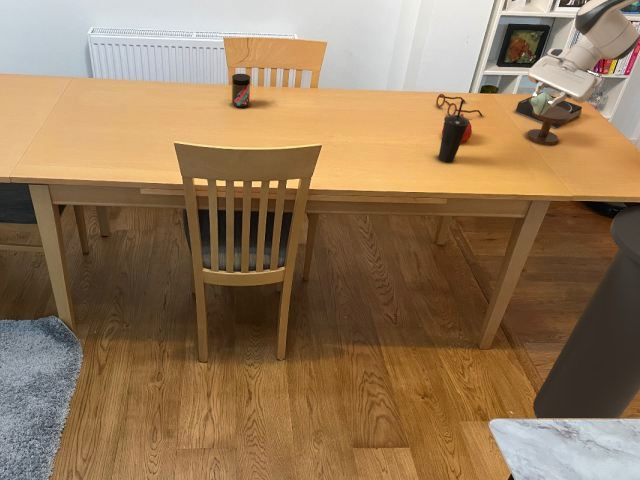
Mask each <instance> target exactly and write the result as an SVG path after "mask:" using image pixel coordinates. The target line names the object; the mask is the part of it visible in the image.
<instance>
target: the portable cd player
mask: <svg viewBox="0 0 640 480" xmlns="http://www.w3.org/2000/svg"><path fill="white" fill-rule="evenodd" d="M541 93H544V92H543V91H542V92H541V91H540V94H541ZM549 96H551V97H552V98H554V99H555V98H557V96H554V95H551V94H549ZM531 98H532V96H530V97H526V98H525V99H523V100H520V101H518V103H517V105H516V108H515V111H514V113H515V114H519V115H521V116H523V117H526V118H528V119H530V120H533V121H536V122H538V123H541V124H543V122H544V121H543V120H541V119H539V118H537V117H535V116H534V115H533V113H532V111H533V106H532V104H531ZM555 106H558V107H561V108H564V109H566V110H567V111H569V112H570V114H571V117H570V119H569V121H568V122H565V123H552V125H551V128H554V129H557V128H559V127H561V126H563V125H565V124H566V123H569V122H570V121H571V122H572V121H573V120H575V119H577V118H579V117H580V116H581V114H582V109H583V107H582V106H581V105H578V104H575V103H572V102H570V101H568V100H564V101H561V102H559V103H557V104H556V105H555Z"/></svg>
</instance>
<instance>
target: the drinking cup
mask: <svg viewBox="0 0 640 480" xmlns="http://www.w3.org/2000/svg"><path fill="white" fill-rule="evenodd" d="M460 100H461V99H460ZM464 100H465V99H464ZM464 100H461V101H460V104H459V107H458V110H459V111H457V114H455V115H452V114H450V115H448V114H447V115H446V116H445V117H444V118H443V121H444V122H445V123H444V122H443V125H444V129H443V128H442V130H443V135H442V134H441V141H440V146H439V153H438V160H439V161H440V162H442V163H445V164H451V163H453V162H454V161H455V158H456V155H457V153H458V150H459V148H460V145H461V144H462V142H461V141H462V138H463V136H464V133H465V131H466V128H467V126H468V125H469V122H470V120H469V118H467V117H465V116H464V115H463V116H461V113H462V112H461V110H462V108H463V104H464V102H463V101H464Z"/></svg>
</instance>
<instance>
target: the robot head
mask: <svg viewBox="0 0 640 480" xmlns="http://www.w3.org/2000/svg"><path fill="white" fill-rule="evenodd" d="M540 93H541V92H540ZM549 95H550V94H549V93H548V92H543V93H541V94H539V95H538V96H536V97H535V98H531V104H532V106H533V109H534V112H535V114H537V115H542V114H543V113H545V112H546V110H547V109H548V108H550V107H551V106H549V105H548V101H550V99H551V98H552V97H551V96H552V95H551V96H549ZM553 99H554V98H553Z"/></svg>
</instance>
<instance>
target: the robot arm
mask: <svg viewBox="0 0 640 480" xmlns="http://www.w3.org/2000/svg"><path fill="white" fill-rule="evenodd" d="M637 2H640V0H588V1H586V3H584V4H583V5H582V6H580V8H579V9H578V10H577V12H576V13H575V20H574V28H575V30H577V31H578V32H579V33H580V34H581V36H580V38H579V40H578V41H576V43H575V44H573V45H572V46H571V47H570V48H569V47H567V48H558V47H557V48H556V47H552V48H550V49H549V50H548V51H547V55H544V56H542V57H541V58H539V59H538V60H537V61H536V62H535V63H534V64H533V65H532V66H531V67H530V69H528V72H527V77H528V79H529V81H530V82H532V83H534V84H536V86H535V91H534V92H533V93H532V94H531V97H532V98H535V97H536V96H538V95H539V94H540V93H541V91H543V90H544V89H547V90H549V91H552V92H553V93H555V94H558V95H559V96H556V98H555V99H553V98H551V99H550V101H548V105H549V106H551V107H554V106H555V105H556V104H557V103H559V102H561V101H566V99H569V100H570V101H571V100H572V101H573V102H576V103H578V104H583V103H586V102H587V100H588V99H589V98H590V97H591V95H592V94H593V93H594V91H595V89H597V88H598V87H599V86H600V85H601V84H602V82H603V80H604V78H603V76H602V74H601V73H600V72H596V71H594V70H593V69H594V68H595V67H596V66H597V64H598V62H599V61H600V60H601V59H603V60H605V61H620V60H623V59H625V58H626V57H627V56H628V55H629V54H631V53H632V52H633V51H634V49H635V48H636V47H637V46H638V43H639V40H640V32H639V31H638V29H637V28H636V26H634V24H633V23H632V22H631V21H630V20H629V19H628V18H627V17H626V15H624V13H623V12H622V11H621V9H623V8H625V7H628V6H630V5H632V4H635V3H637Z"/></svg>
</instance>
